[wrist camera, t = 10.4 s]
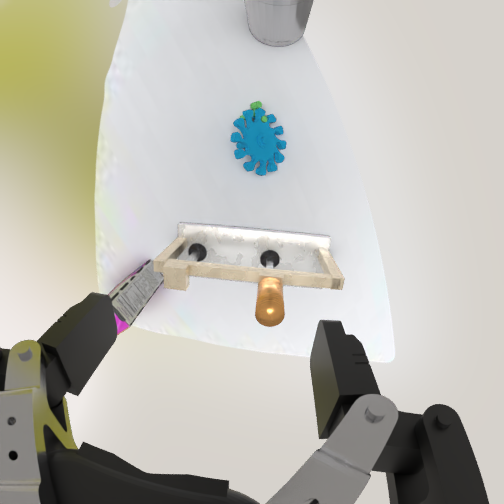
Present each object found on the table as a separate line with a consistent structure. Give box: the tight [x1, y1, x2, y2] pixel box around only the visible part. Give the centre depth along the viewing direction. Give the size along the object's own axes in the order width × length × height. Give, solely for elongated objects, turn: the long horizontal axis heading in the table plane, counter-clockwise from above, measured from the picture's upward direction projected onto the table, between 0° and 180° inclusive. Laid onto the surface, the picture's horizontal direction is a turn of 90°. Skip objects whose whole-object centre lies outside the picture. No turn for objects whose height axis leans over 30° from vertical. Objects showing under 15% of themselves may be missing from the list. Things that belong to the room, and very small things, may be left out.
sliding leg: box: [255, 257, 285, 327], centre depth 37 cm, size 3×3×18 cm
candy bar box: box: [108, 260, 164, 335], centre depth 43 cm, size 11×5×16 cm, turn 125°
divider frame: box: [153, 222, 345, 291], centre depth 41 cm, size 9×25×14 cm, turn 86°
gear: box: [231, 101, 286, 176], centre depth 39 cm, size 11×6×10 cm
